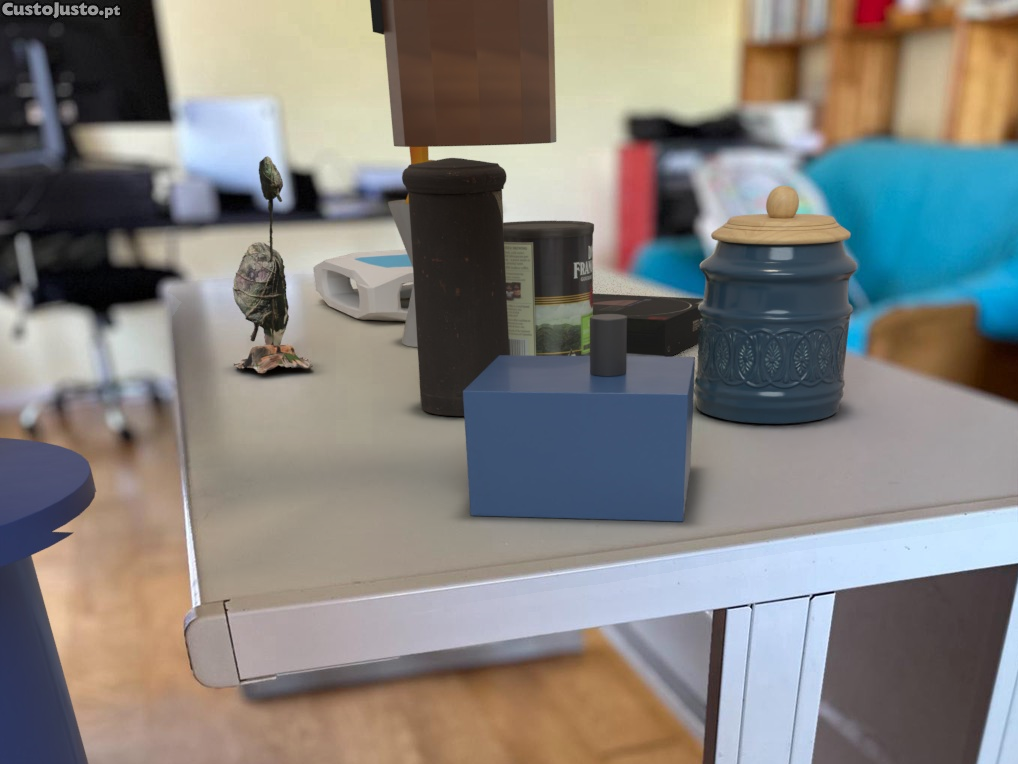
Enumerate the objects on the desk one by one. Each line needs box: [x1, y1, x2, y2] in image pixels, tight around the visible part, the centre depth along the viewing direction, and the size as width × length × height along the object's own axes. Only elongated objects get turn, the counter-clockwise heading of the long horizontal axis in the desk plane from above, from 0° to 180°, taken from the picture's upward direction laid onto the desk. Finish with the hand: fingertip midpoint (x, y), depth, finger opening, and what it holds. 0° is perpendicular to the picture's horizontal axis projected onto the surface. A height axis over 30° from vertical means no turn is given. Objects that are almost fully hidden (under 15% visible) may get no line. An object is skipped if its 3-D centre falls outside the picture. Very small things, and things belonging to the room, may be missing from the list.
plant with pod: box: [232, 156, 314, 374], centre depth 112 cm, size 8×11×20 cm
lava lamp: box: [387, 147, 435, 348], centre depth 121 cm, size 9×9×35 cm
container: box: [401, 157, 510, 417], centre depth 94 cm, size 9×9×20 cm
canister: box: [694, 185, 859, 425], centre depth 92 cm, size 13×13×18 cm
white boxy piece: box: [312, 248, 414, 323], centre depth 153 cm, size 21×28×6 cm
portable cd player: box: [593, 293, 704, 357], centre depth 126 cm, size 16×17×4 cm
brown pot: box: [381, 0, 557, 148], centre depth 71 cm, size 11×11×10 cm
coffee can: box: [503, 220, 595, 356], centre depth 106 cm, size 10×10×14 cm
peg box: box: [463, 314, 696, 523], centre depth 73 cm, size 14×12×12 cm
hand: (396, 32), depth 70 cm, fingers closed on brown pot
